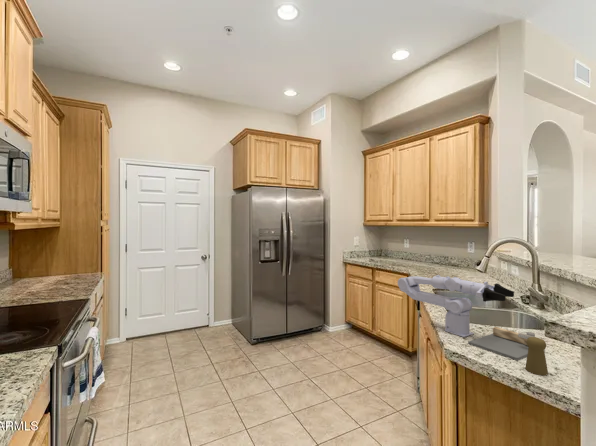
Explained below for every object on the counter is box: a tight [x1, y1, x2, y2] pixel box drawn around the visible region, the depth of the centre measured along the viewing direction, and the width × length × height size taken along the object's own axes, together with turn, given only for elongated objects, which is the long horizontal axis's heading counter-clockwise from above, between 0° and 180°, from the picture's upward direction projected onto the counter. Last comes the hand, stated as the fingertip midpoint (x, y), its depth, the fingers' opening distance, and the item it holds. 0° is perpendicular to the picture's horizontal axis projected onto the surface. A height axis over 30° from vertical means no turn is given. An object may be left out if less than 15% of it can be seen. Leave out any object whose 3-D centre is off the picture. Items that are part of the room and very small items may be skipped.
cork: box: [525, 336, 549, 376], centre depth 101 cm, size 6×6×11 cm
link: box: [492, 326, 538, 346], centre depth 124 cm, size 16×4×3 cm, turn 30°
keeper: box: [517, 332, 534, 339], centre depth 117 cm, size 5×2×5 cm, turn 30°
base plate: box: [467, 331, 536, 362], centre depth 121 cm, size 18×20×6 cm
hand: (509, 296), depth 120 cm, fingers open, 7 cm apart
